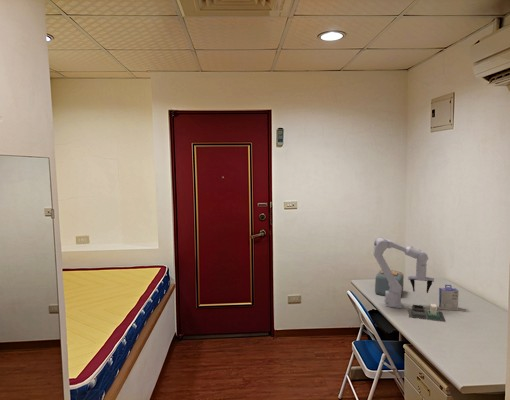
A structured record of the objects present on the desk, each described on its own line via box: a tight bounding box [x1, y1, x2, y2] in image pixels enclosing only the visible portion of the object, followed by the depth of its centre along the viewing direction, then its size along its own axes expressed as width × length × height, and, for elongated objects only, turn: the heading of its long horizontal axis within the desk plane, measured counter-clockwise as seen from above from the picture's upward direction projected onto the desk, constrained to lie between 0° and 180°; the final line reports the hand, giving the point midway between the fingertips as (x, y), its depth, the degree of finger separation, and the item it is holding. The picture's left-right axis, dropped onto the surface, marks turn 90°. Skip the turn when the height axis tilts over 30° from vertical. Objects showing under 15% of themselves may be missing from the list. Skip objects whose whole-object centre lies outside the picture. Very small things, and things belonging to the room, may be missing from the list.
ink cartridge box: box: [438, 284, 459, 311], centre depth 220 cm, size 10×6×14 cm, turn 79°
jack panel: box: [407, 304, 446, 323], centre depth 211 cm, size 19×13×4 cm
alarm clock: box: [374, 269, 405, 296], centre depth 247 cm, size 16×16×16 cm
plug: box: [429, 303, 438, 315], centre depth 209 cm, size 3×4×6 cm
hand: (420, 291), depth 223 cm, fingers open, 7 cm apart
